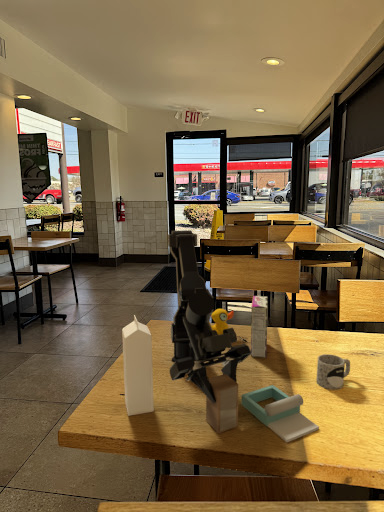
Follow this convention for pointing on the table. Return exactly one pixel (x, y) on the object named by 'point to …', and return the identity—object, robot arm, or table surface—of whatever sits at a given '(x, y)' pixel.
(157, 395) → the table surface
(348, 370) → the mug
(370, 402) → the table surface
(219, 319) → the duckling
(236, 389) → the brown block
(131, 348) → the milk
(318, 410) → the table surface
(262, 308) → the candy bar box
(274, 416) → the teal rectangular frame
